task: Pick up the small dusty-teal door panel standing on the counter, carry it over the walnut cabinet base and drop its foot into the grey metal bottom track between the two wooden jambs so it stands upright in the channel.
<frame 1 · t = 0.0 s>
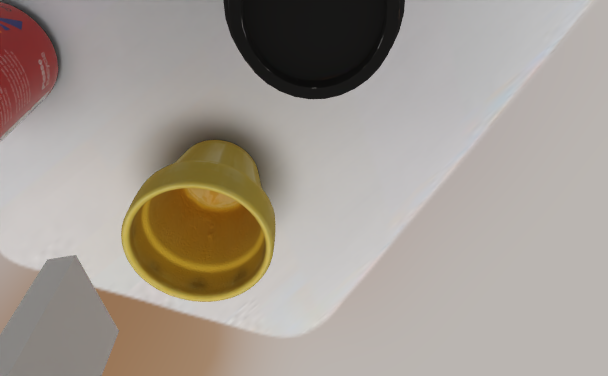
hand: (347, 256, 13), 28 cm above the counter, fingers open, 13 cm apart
soda can: (9, 50, 39), on the counter
plant pot: (218, 171, 45), on the counter
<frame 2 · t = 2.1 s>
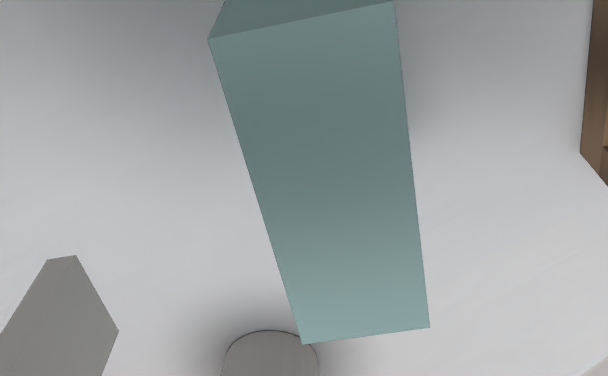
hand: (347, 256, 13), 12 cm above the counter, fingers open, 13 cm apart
coffee cup: (271, 359, 34), on the counter
door panel: (326, 58, 23), on the counter
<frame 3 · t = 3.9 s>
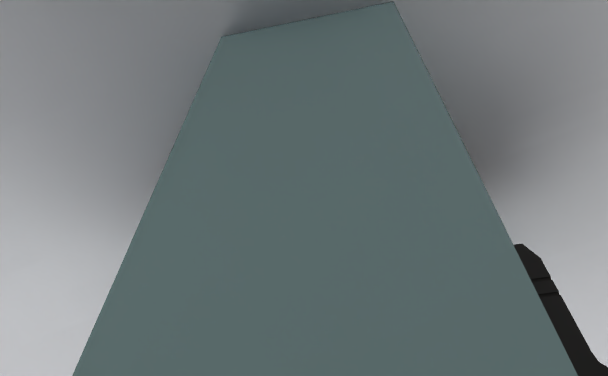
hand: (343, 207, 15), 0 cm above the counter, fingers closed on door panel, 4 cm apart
door panel: (341, 197, 15), on the counter, touching gripper
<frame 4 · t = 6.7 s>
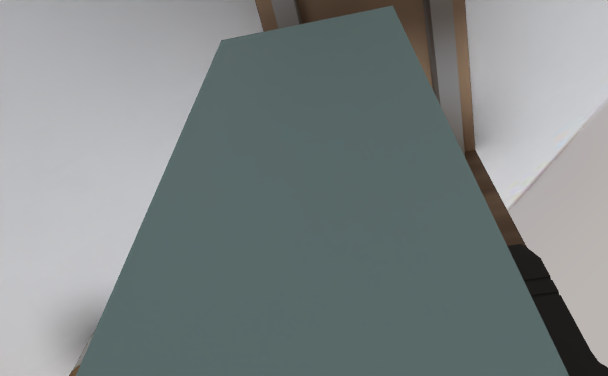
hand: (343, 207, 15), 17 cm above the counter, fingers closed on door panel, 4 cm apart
door panel: (341, 199, 15), point 17 cm above the counter, touching gripper
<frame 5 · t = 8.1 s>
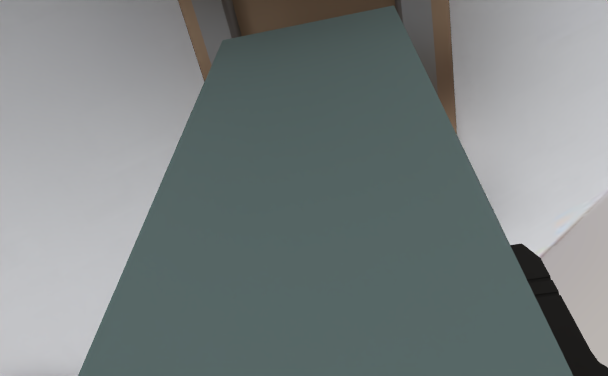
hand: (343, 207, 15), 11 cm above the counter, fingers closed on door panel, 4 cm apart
cabinet track: (327, 63, 24), on the counter
door panel: (342, 199, 15), point 10 cm above the counter, touching gripper
when the fingers open (5 cm above the counter, at t = 9.4 s): door panel drops 2 cm, resting on cabinet track.
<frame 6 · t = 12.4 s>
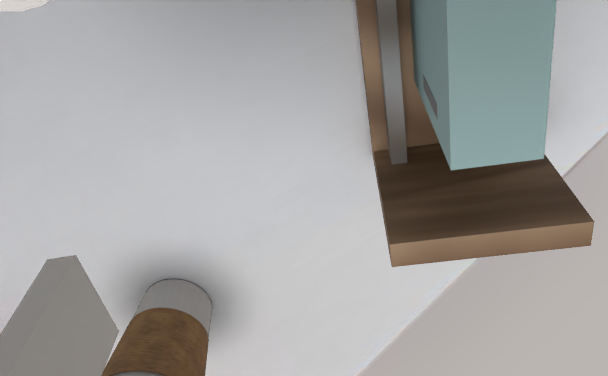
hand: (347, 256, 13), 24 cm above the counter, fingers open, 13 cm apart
coffee cup: (178, 302, 47), on the counter
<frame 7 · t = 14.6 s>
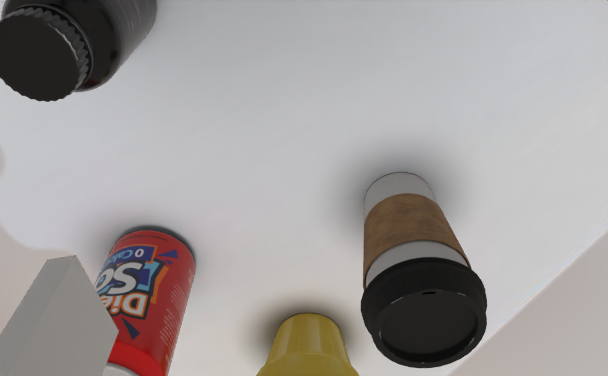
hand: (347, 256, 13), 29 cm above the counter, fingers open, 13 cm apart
soda can: (156, 255, 51), on the counter
plant pot: (308, 332, 56), on the counter
coffee cup: (397, 199, 47), on the counter
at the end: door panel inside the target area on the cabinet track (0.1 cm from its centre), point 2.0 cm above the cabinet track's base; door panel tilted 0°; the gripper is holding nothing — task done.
